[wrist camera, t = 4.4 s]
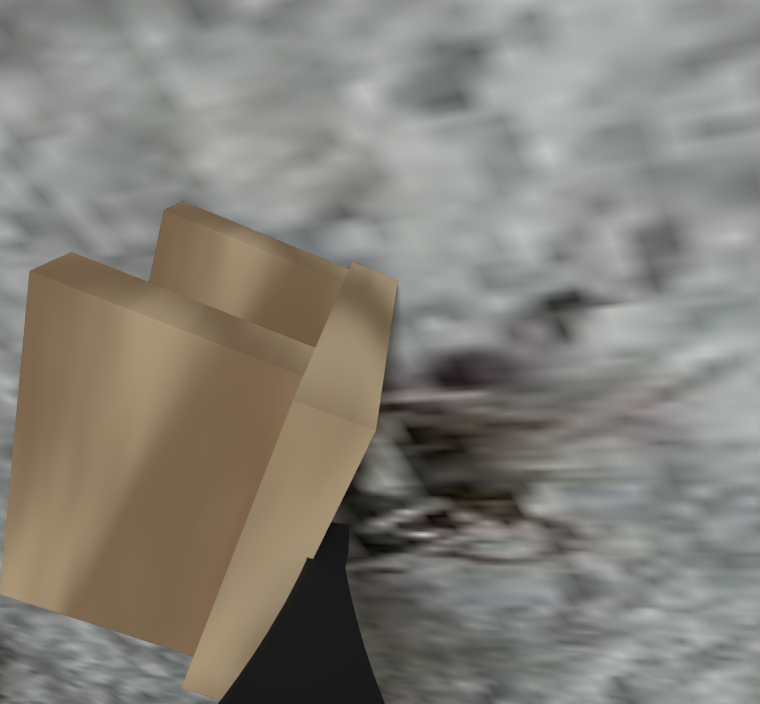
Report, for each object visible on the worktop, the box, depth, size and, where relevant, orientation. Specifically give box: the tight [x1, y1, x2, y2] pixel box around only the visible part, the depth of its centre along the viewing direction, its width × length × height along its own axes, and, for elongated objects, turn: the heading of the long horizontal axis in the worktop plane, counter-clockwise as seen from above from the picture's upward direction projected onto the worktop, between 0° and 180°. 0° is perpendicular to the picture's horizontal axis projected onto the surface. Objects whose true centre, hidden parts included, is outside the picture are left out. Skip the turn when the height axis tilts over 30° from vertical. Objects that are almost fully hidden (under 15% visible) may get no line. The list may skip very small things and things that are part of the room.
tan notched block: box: [0, 201, 398, 700], centre depth 14 cm, size 8×9×6 cm
